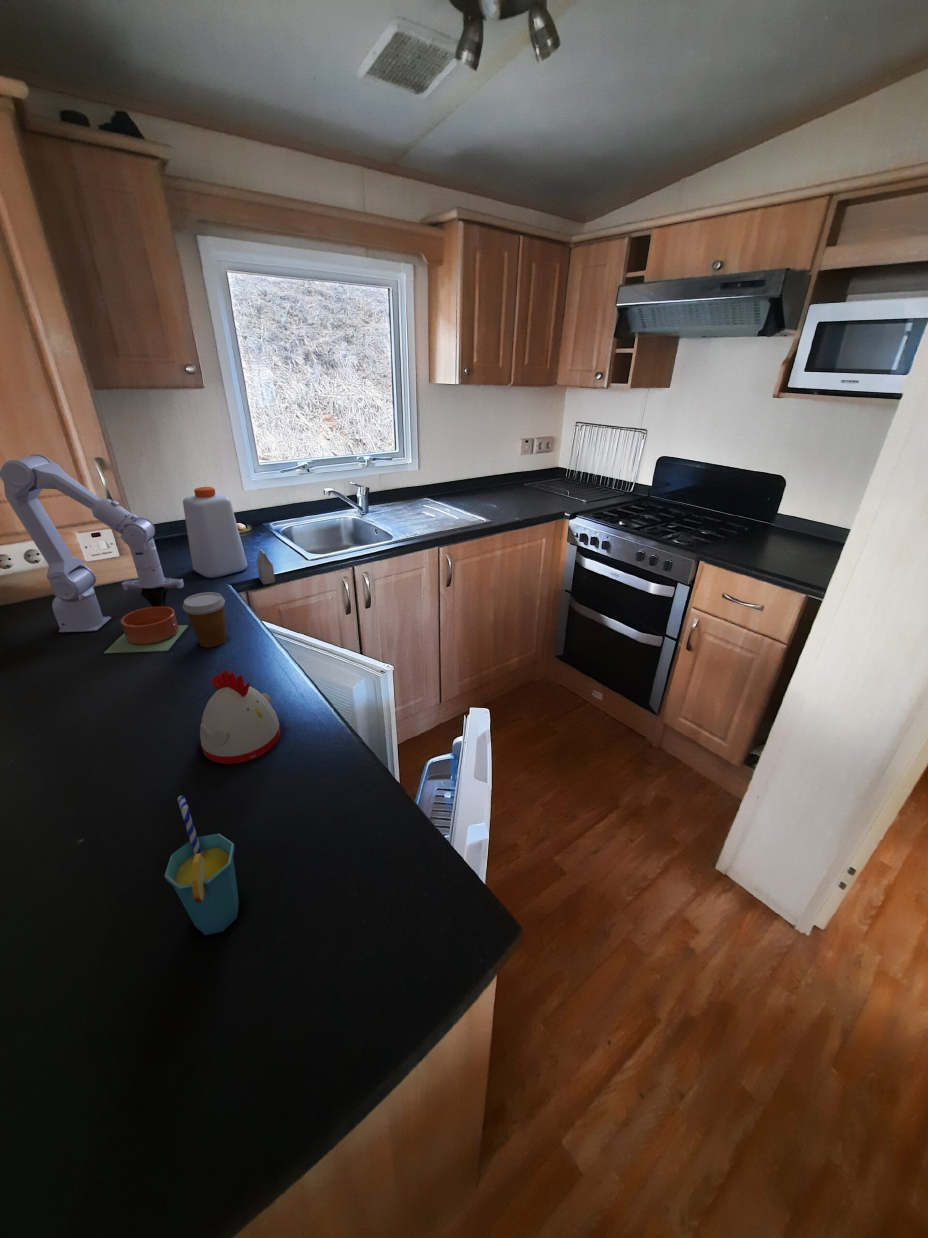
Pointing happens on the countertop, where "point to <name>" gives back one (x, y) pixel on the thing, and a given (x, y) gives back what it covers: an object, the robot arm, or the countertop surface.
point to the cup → (205, 878)
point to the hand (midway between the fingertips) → (161, 612)
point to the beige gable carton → (265, 568)
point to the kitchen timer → (237, 722)
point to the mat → (125, 646)
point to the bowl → (149, 625)
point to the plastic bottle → (213, 534)
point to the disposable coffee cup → (207, 617)
